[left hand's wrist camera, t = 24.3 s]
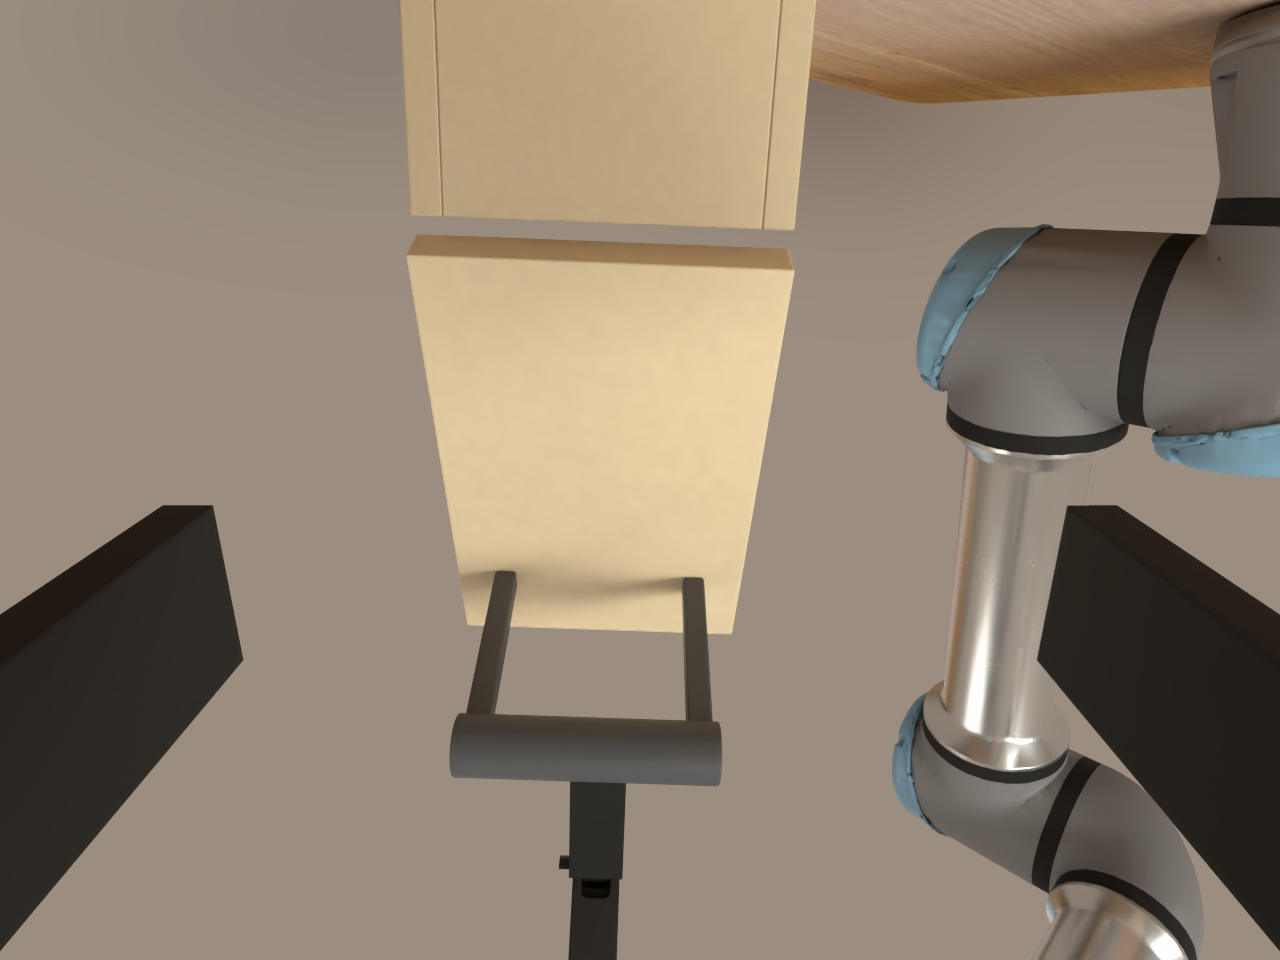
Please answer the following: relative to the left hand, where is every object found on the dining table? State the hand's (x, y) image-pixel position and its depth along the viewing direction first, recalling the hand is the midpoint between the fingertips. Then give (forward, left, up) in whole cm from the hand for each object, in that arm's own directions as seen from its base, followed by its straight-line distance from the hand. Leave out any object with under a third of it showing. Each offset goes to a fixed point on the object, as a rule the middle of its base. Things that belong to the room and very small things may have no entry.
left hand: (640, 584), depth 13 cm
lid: (+9, -8, +2) cm, 13 cm away
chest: (+12, -10, -16) cm, 22 cm away
